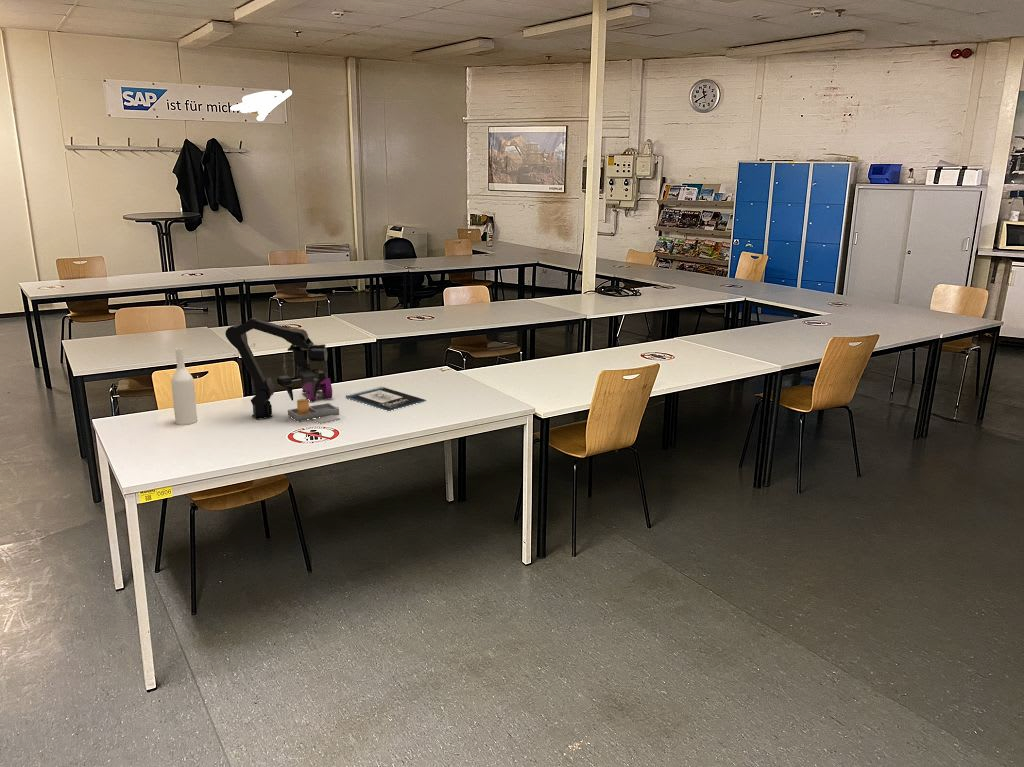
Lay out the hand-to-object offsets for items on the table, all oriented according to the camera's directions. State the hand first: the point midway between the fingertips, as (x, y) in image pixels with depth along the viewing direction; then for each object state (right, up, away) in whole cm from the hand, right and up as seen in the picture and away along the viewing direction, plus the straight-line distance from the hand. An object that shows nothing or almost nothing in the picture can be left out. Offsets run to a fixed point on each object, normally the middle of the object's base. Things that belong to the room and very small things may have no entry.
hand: (303, 398), depth 310 cm
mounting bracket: (-3, 0, +32) cm, 32 cm away
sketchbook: (+29, -2, +28) cm, 40 cm away
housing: (+3, -7, +4) cm, 9 cm away
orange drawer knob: (0, -7, +2) cm, 7 cm away
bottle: (-45, -9, -6) cm, 46 cm away
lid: (+10, -9, -2) cm, 14 cm away
